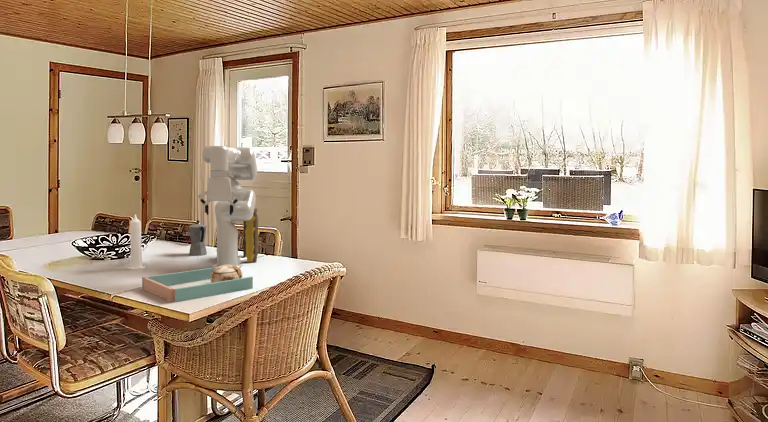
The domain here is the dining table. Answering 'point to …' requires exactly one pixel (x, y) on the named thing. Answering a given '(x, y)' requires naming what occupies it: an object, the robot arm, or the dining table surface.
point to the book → (251, 239)
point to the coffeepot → (197, 239)
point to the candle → (135, 245)
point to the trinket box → (225, 273)
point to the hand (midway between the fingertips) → (219, 214)
